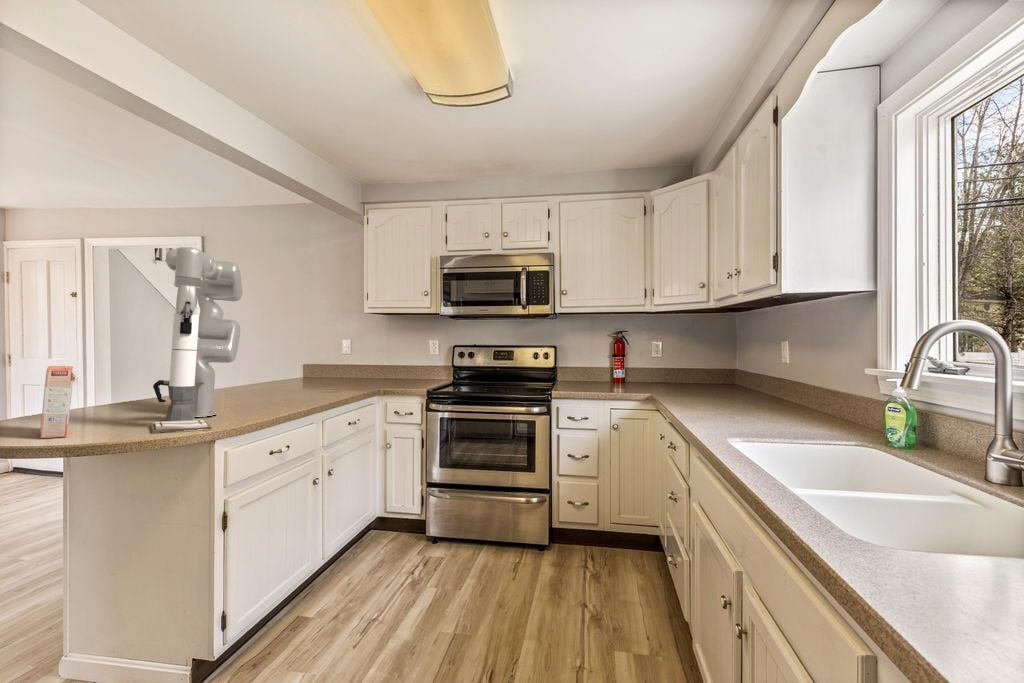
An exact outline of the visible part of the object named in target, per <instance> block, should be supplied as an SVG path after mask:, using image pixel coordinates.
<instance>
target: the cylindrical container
mask: <svg viewBox="0 0 1024 683" xmlns="http://www.w3.org/2000/svg"><path fill="white" fill-rule="evenodd" d="M180 322H182V314H180V313H179V315H178V314H175V313H173V324H172V337H171V338H172V339H171V340H172V341H171V353H170V356H171V357H170V367H169V380H168V381H169V386H177V387H185V386H194V385H195V370H196V355H197V340H198V339H199V338H198V324H199V314H194V315H192V321H191V323H192V331H191V334H180Z"/></svg>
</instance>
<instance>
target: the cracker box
mask: <svg viewBox="0 0 1024 683" xmlns="http://www.w3.org/2000/svg"><path fill="white" fill-rule="evenodd" d="M44 381H45V382H44V389H43V400H42V409H41V410H42V412H41V421H40V430H39V431H40V433H39V439H42V438H44V439H58V438H57V437H62V438H67V435H68V428H69V427H68V426H69V419H70V411H71V402H72V395H73V394H72V393H73V383H74V367H73V366H69V365H48V367H47V368H46V372H45V380H44Z"/></svg>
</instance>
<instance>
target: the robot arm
mask: <svg viewBox="0 0 1024 683" xmlns="http://www.w3.org/2000/svg"><path fill="white" fill-rule="evenodd" d="M165 264H166V265H167V267H168V268H169V269H170V270H172V271H174V272H175V275H174V287H176V288H177V291H176V292H177V293H176V301H175V302H176V304H175V313H174V314H178V315H179V314H182V322H180V334H191V331H192V323H191V321H192V315H195V310H196V303H197V304H198V307H199V314H198V315H199V324H198V340H197V355H196V370H195V381H199V382H203V383H204V384H202V385H201V386H200V388H199V389H198V390H197V392H196V393H195V397H194V399H193V400H192V404H193V407H194V414H195V416H206V415H213V414H216V413H217V414H218V412H216V411H214V410H213V409H214V396H215V381H216V372H215V369H214V368H213V367H212V366H211V364H210V363H218V364H219V363H223V364H226V363H230V364H231V363H232V362H234V361H235V360H236V358H237V353H238V348H239V343H240V337H241V325H240V324H239V322H238V321H236V320H234V319H226V318H225V319H224V310H223V309H222V307H221V306H220V305H219V304H218V303H216V302H215V301H225V302H238V301H240V300H241V299H242V296H243V285H242V276H241V271H240V267H239V266H238V264H236V263H235V262H231V261H225V260H224V261H222V260H215V259H214V257H213V256H212V255H211V254H210V253H208V252H203V251H202V250H200V249H198V248H193V247H188V246H187V247H186V246H182V247H179V248H173V249H170V250H168V251H167V252H166V254H165ZM196 301H197V302H196Z"/></svg>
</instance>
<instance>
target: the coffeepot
mask: <svg viewBox="0 0 1024 683" xmlns="http://www.w3.org/2000/svg"><path fill="white" fill-rule="evenodd" d="M169 381H170V380H168V379H167V380H164V379H163V380H162V379H159V380H157V381H156V382H155V383H154V384H153V385H152V387H153V390H154V393H155V396H156V398H157V402H159V403H166V401H167V400H166V399H163V398H162V393H161V388H160V386H166V387H168V388H167V391H168V398H169V400H170V404H169V405H168V408H167V413H166V415H165V419H164V421H183V420H193V419H195V420H196V418H195V414H194V407H193V404H192V400H193V399H194V397H195V393H196V392H197V390H198V389H199V388H200V386H201V385H202V384H204V383H203V382H199V381H195V385H194V386H185V387H177V386H169Z"/></svg>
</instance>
